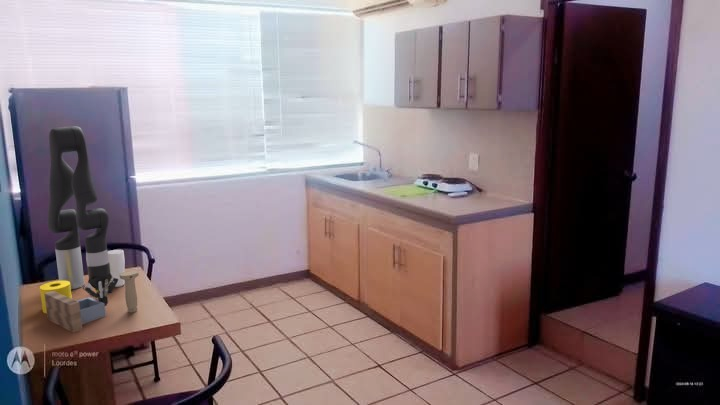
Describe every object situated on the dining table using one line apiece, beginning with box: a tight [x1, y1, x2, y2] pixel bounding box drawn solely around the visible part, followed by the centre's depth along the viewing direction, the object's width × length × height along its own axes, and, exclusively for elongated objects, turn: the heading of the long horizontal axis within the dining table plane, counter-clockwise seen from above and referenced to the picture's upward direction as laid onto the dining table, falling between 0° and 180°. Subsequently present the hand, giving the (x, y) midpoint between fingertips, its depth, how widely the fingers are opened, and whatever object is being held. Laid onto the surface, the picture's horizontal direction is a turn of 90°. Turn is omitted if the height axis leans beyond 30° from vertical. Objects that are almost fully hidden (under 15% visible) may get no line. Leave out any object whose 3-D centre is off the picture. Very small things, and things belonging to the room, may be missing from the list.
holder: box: [76, 296, 107, 325], centre depth 190 cm, size 11×11×5 cm
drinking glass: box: [107, 249, 126, 288], centre depth 222 cm, size 7×7×15 cm
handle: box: [120, 270, 139, 313], centre depth 195 cm, size 5×6×15 cm
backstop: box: [44, 291, 83, 334], centre depth 184 cm, size 19×3×10 cm, turn 54°
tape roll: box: [39, 280, 73, 314], centre depth 198 cm, size 10×10×9 cm
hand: (103, 305), depth 197 cm, fingers closed
